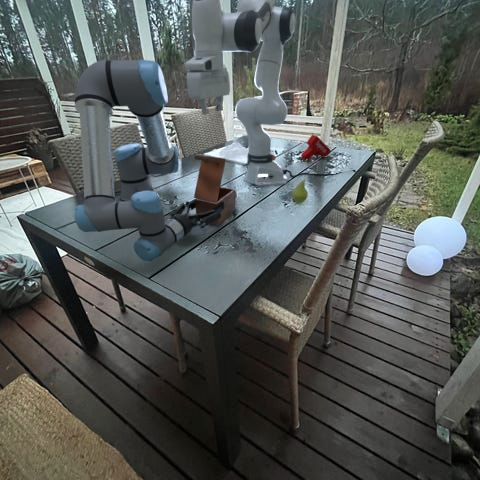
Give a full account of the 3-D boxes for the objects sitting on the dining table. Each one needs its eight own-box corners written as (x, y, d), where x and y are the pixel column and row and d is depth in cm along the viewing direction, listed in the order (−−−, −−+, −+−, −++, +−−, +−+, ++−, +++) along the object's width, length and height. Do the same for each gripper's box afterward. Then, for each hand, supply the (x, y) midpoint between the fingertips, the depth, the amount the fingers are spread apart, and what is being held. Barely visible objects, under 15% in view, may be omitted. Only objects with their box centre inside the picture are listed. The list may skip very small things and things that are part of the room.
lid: (203, 156, 101) (191, 149, 94) (225, 159, 98) (215, 152, 90) (195, 198, 103) (182, 195, 95) (216, 202, 99) (205, 199, 91)
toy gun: (302, 156, 169) (316, 135, 166) (298, 155, 172) (312, 134, 169) (317, 170, 180) (331, 150, 177) (313, 169, 183) (326, 149, 180)
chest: (216, 205, 119) (215, 185, 114) (235, 209, 115) (235, 189, 110) (196, 220, 108) (194, 199, 103) (217, 225, 104) (216, 204, 99)
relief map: (245, 164, 167) (245, 156, 164) (203, 155, 185) (203, 148, 182) (268, 154, 185) (268, 147, 183) (228, 147, 203) (228, 140, 200)
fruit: (288, 200, 123) (290, 174, 116) (302, 197, 125) (305, 172, 119) (296, 206, 118) (299, 179, 111) (310, 203, 120) (314, 177, 114)
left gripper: (151, 230, 95) (189, 205, 112) (205, 246, 86) (237, 216, 103) (147, 211, 91) (187, 188, 107) (203, 225, 82) (237, 198, 99)
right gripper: (217, 63, 93) (219, 108, 100) (181, 63, 78) (186, 116, 85) (234, 63, 91) (234, 109, 98) (199, 63, 75) (203, 117, 83)
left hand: (211, 202), depth 105 cm, fingers closed on chest, 10 cm apart
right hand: (212, 112), depth 91 cm, fingers open, 7 cm apart
